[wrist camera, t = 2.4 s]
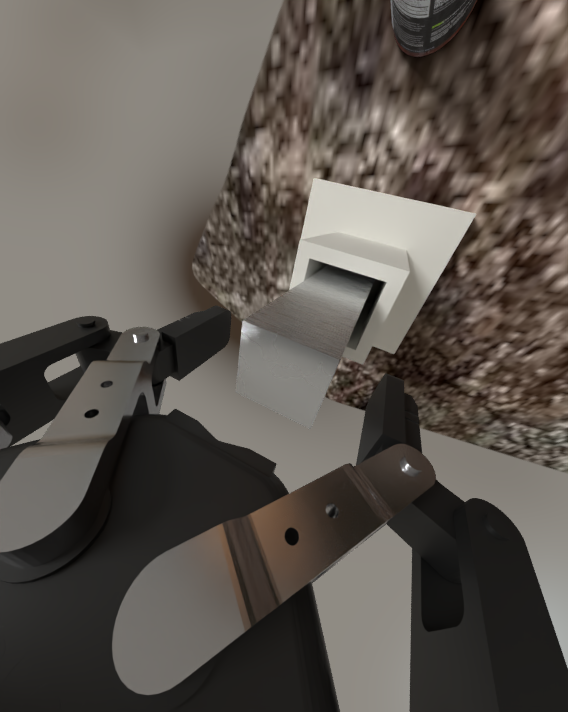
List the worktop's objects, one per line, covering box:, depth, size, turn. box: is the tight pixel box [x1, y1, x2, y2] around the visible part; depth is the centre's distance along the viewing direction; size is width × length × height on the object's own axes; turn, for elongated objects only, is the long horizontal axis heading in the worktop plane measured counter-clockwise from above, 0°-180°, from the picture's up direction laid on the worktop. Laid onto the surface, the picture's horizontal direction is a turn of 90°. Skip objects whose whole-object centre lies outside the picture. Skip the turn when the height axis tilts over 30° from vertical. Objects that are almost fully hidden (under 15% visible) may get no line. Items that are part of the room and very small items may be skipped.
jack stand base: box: [289, 178, 476, 365], centre depth 23 cm, size 16×16×15 cm
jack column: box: [236, 265, 375, 429], centre depth 18 cm, size 4×4×22 cm
